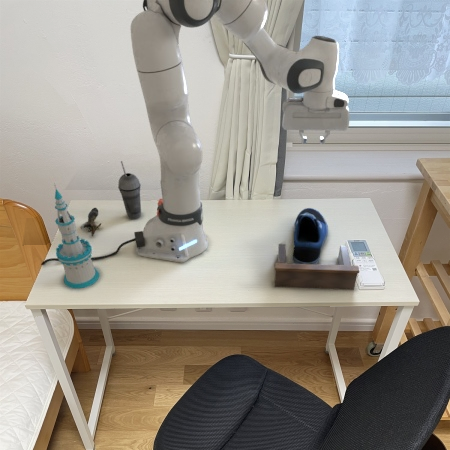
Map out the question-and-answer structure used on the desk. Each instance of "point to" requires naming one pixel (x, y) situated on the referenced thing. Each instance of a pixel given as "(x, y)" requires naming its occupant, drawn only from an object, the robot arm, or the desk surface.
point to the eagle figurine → (91, 221)
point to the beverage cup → (130, 194)
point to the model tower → (73, 250)
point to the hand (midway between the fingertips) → (312, 143)
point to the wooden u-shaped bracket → (316, 273)
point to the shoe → (309, 236)
